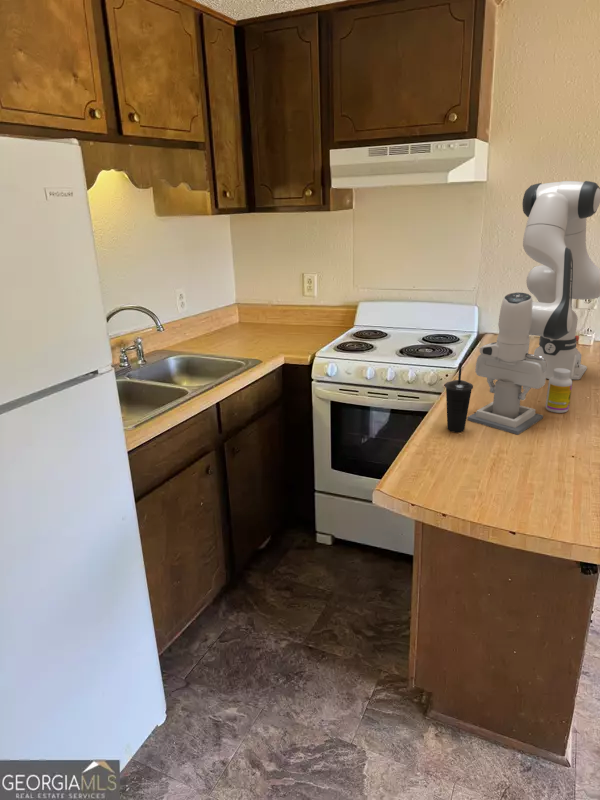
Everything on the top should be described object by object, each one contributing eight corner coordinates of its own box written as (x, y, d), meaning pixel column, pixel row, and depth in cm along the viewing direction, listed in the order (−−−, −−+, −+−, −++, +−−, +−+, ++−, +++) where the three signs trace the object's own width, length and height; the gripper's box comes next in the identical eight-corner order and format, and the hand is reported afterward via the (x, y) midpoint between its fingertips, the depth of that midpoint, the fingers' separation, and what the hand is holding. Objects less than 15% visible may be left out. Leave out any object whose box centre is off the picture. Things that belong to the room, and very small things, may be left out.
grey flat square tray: (493, 405, 182) (494, 396, 181) (542, 418, 172) (544, 409, 170) (467, 420, 172) (467, 410, 171) (517, 434, 161) (519, 425, 160)
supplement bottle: (570, 414, 174) (576, 374, 169) (547, 413, 175) (552, 373, 171) (565, 406, 180) (571, 367, 175) (543, 405, 181) (548, 366, 177)
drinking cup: (470, 425, 168) (475, 360, 161) (468, 435, 162) (474, 368, 155) (443, 422, 171) (447, 358, 164) (441, 432, 164) (445, 366, 157)
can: (519, 421, 167) (524, 383, 163) (492, 420, 169) (496, 382, 165) (516, 412, 174) (521, 375, 170) (491, 410, 176) (494, 373, 171)
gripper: (552, 354, 159) (546, 401, 164) (485, 342, 173) (481, 385, 178) (542, 359, 155) (536, 407, 160) (474, 346, 169) (471, 390, 174)
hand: (507, 395), depth 169 cm, fingers closed on can, 7 cm apart
